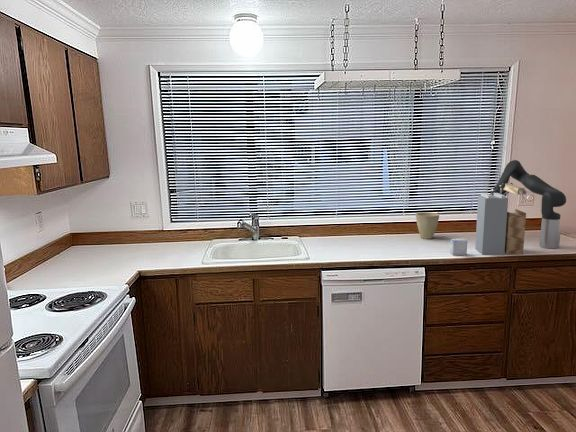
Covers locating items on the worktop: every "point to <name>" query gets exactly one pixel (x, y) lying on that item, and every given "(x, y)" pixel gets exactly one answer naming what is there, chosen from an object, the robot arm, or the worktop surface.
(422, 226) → the plant pot
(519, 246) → the block
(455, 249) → the medicine box
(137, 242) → the worktop surface
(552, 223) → the robot arm
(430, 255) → the worktop surface
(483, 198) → the slot column
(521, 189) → the bar
